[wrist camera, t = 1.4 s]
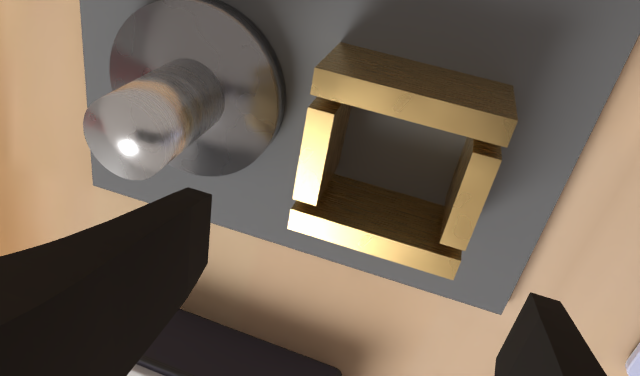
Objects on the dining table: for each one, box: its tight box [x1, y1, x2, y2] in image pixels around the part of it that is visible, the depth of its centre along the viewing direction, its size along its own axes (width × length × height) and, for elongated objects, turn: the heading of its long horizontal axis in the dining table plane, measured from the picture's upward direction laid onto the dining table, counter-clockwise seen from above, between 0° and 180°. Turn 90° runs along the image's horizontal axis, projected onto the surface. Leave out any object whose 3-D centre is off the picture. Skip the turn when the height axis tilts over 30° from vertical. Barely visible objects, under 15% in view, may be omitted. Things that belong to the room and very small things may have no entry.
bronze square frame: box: [287, 42, 518, 280], centre depth 17 cm, size 6×6×3 cm
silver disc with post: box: [83, 0, 286, 180], centre depth 17 cm, size 6×6×5 cm
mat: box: [80, 0, 640, 315], centre depth 19 cm, size 18×12×1 cm, turn 80°
